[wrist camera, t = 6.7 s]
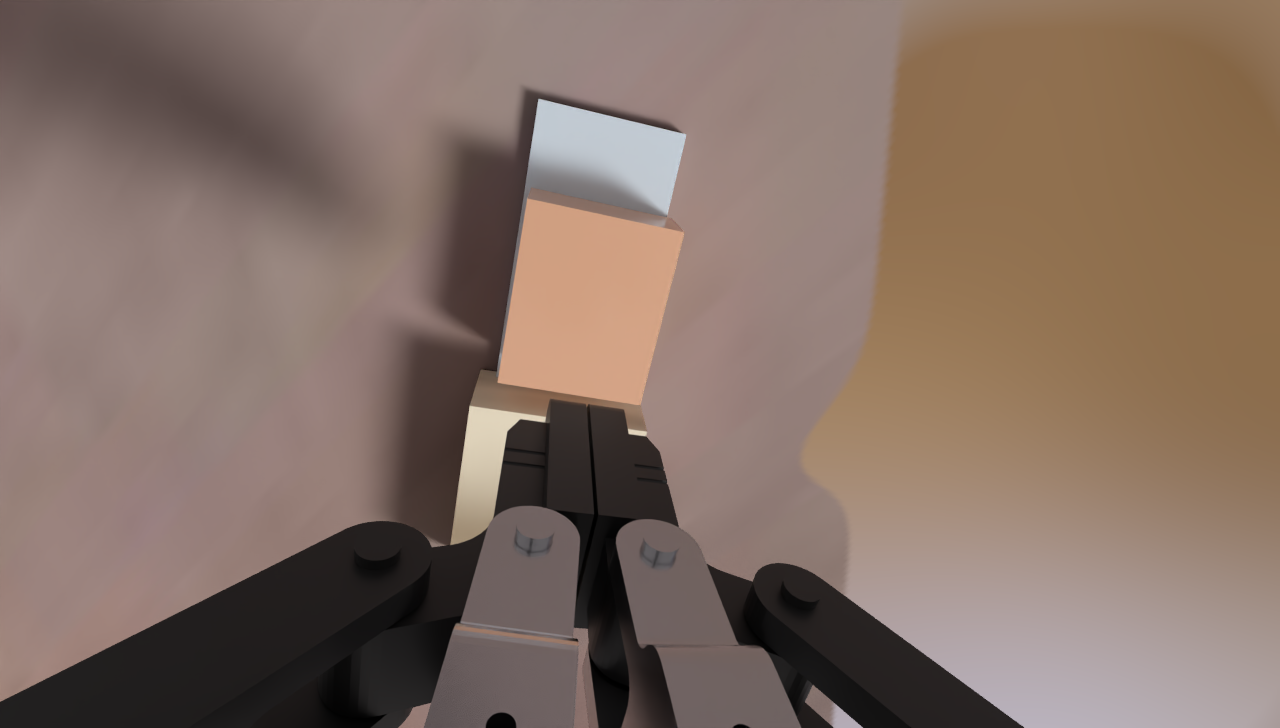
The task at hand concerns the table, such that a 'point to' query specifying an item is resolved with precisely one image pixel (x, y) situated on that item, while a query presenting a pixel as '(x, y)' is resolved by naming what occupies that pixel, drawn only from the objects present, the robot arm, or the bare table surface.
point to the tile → (588, 297)
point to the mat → (599, 164)
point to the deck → (486, 443)
